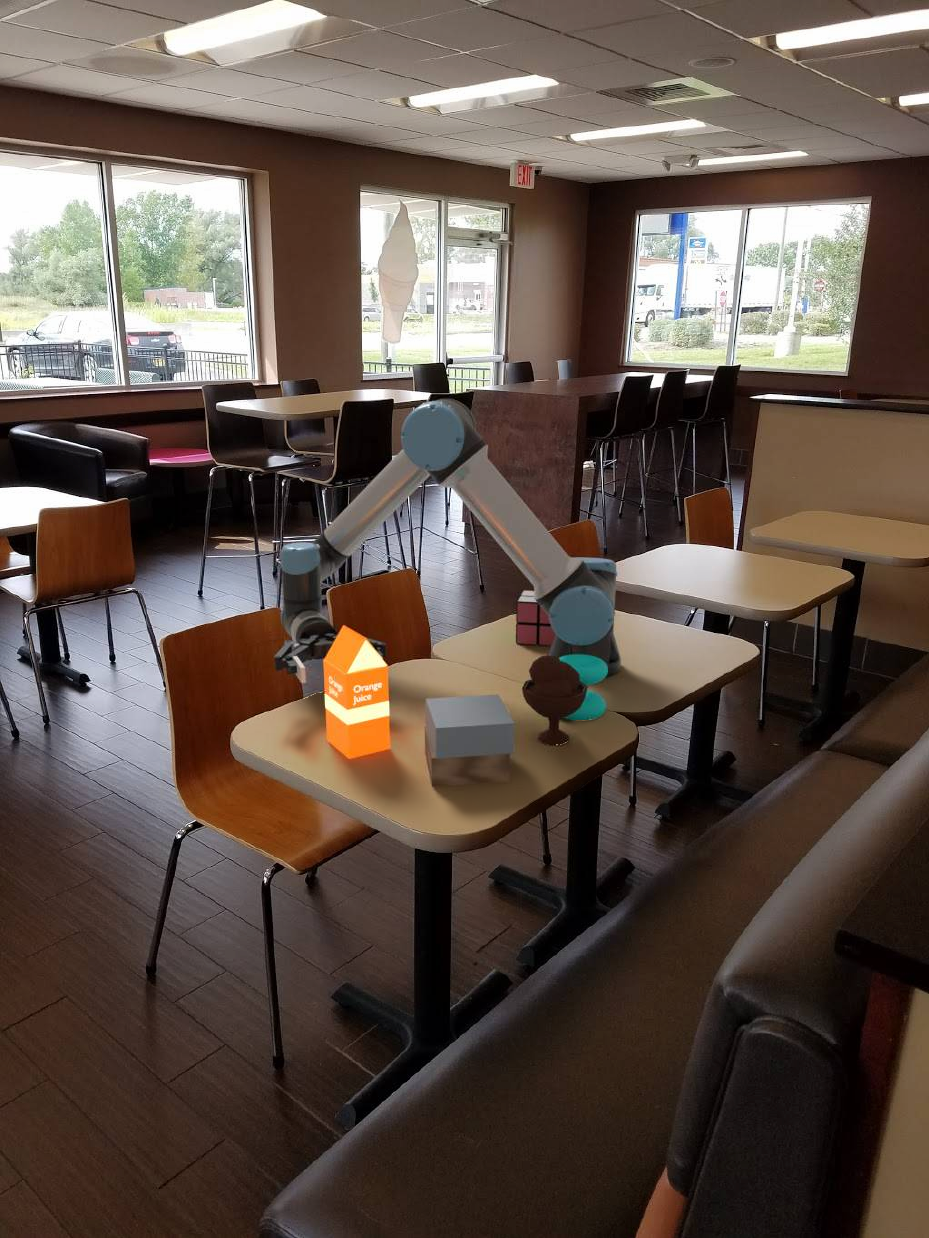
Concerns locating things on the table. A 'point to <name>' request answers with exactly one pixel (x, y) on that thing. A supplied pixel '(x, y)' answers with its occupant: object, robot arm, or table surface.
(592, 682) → the donuts
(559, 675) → the ice cream bowl
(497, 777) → the lower block
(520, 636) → the puzzle cube
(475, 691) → the table surface
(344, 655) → the orange juice
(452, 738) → the upper block
